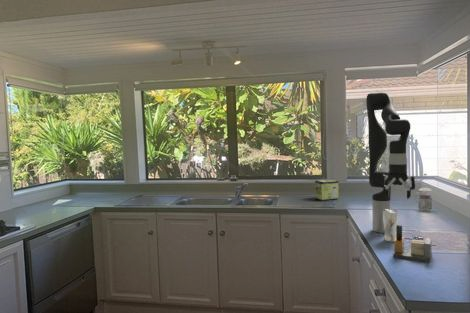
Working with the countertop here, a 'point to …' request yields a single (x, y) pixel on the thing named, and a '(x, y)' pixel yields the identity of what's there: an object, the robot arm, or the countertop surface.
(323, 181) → the protein box
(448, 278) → the countertop surface
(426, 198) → the french press
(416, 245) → the block
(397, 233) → the press ram
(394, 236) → the beer glass
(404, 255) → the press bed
